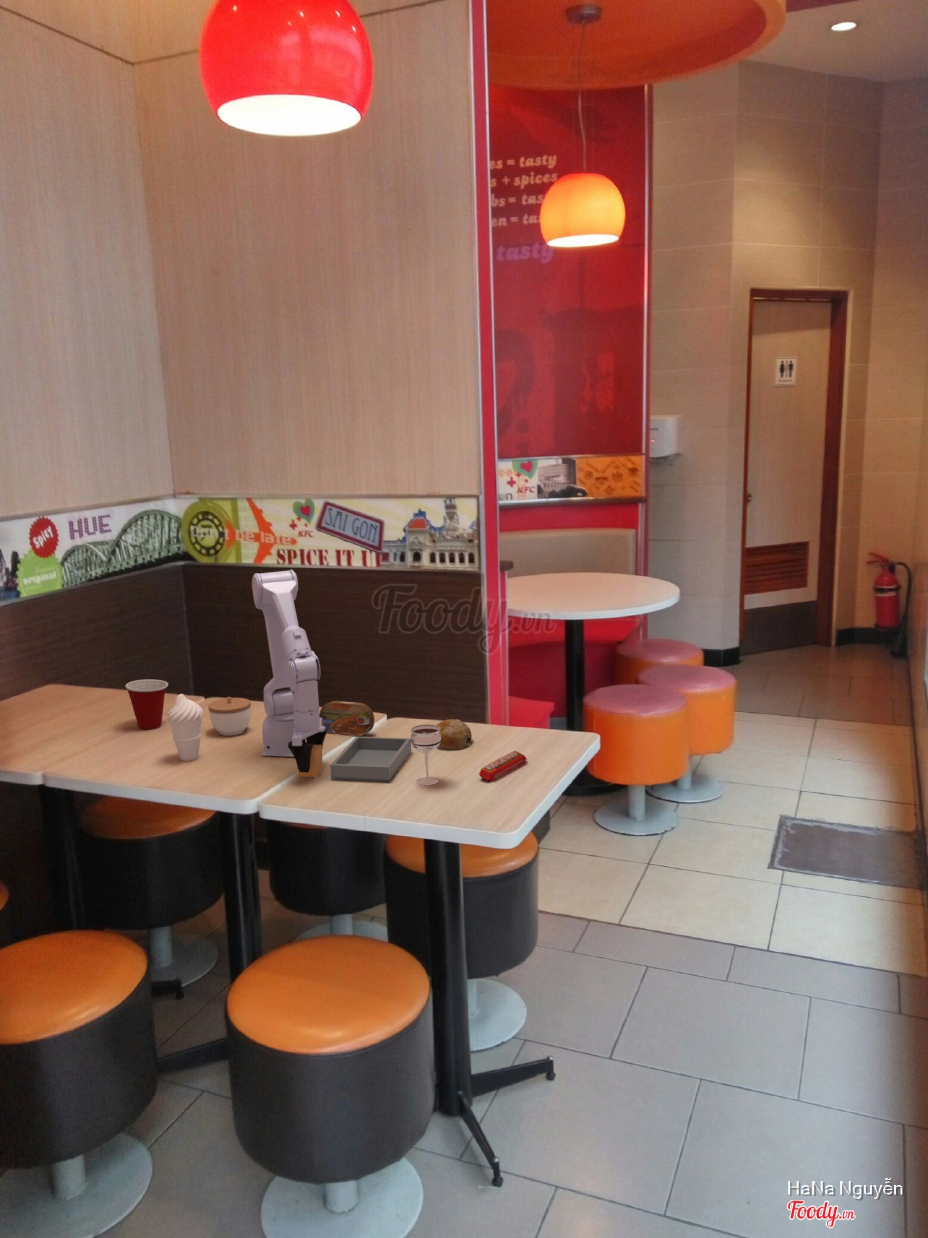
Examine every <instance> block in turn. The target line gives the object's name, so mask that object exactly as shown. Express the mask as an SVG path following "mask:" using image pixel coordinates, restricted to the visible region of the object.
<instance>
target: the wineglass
mask: <svg viewBox="0 0 928 1238" xmlns="http://www.w3.org/2000/svg"><path fill="white" fill-rule="evenodd" d="M436 725H437V724H418V725H415V726H413V727H411V728H410V729H409V730H410V732H411V735H410V740H411V746H412V747H413V748H414V749H415V750H416V751H418V752H421V753H423V755H424V763H425V771H426V773H425V775H426V776H425V777H420V778H418V779H417V780H416V783H417V785H420V786H433V785H436V784H438V783H439V781H440V780H439V779H438V778H437V777H434V776H429V755H430V754H431V752H433V751H436V749H438V748H437V747H438V746H439V745H440V742H441V734H440V733H439V731H440V729H441V728H440V727H439V726H436Z"/></svg>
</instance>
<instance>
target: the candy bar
mask: <svg viewBox="0 0 928 1238" xmlns="http://www.w3.org/2000/svg"><path fill="white" fill-rule="evenodd" d="M527 760H528V758H527V757H526V756H525V755H524V754H522V753H521V752H519V751H516V750H514V751H511V752H509V753H508V754H506V755H504V756H502V757H499V758H497V759H496V760H494V761H491V762H490V763H488V764H486V765H484V766H483V767H482V768H480V771H479V772H478V775H479V776H480V777H481V778H482V779H484V780H486V781H487V782H492V781H491V780H493V781H495V780H497V779H498V778H497V777H499V776H501V775H502V776H504V775H506V774H507V773H506V772H508V773H510V772H511V771H513V770H515V769H516V768H515V767H517V768H519V767H521V766H522V765H524V764H525V762H526V761H527ZM523 763H524V764H523ZM521 764H522V765H521ZM518 766H519V767H518ZM514 768H515V769H514ZM512 769H513V770H512ZM509 771H510V772H509ZM505 773H506V774H505ZM503 774H504V775H503ZM502 776H501V777H502ZM496 778H497V779H496ZM499 778H500V777H499ZM494 779H495V780H494ZM488 780H489V781H488Z"/></svg>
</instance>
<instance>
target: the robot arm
mask: <svg viewBox="0 0 928 1238" xmlns="http://www.w3.org/2000/svg"><path fill="white" fill-rule="evenodd" d="M298 581H299V579H298V576H297V573H296V572H294V569H289V570H282V571H273V572H264V573H263V572H262V573H257V572H256V573H254V574H253V576H252V580H251V589H252V596H253V602H254V605H255V608H256V609H258V610H261V612H263V613H262V614H263V616H264V620H265V621H264V622H265V628H266V630H265V631H266V635H267V636H266V637H267V640H268V641H267V643H268V650H269V657H270V664H271V670H272V675H273V676H272V678H271V679H270V680H269V681H268V682H267V683H266V684H265V686H264V688H263V707H264V710H265V712H264V713H265V714H266V716H265V717H264V719H263V720H262V721H263V722H262V727H261V730H262V732H261V733H262V734H261V735H262V747H263V753H262V756H265V757H285V758H286V757H289V758H294V760H295V763H296V767H297V766H298V769H299V772H309V769H310V756H311V751H312V748H313V745H322V748H323V745H324V741H325V738H326V736H327V734H328V733H329V732H328V729H327V728H325V727H324V726H323V722H322V718H320V716H319V714H320V704H319V702H320V701H319V691H318V690H319V688H318V681H319V680H320V678H321V665H320V661H319V658H318V656H317V655H316V654H315V651H314V650H312V648H311V645H310V642H309V639H308V636H307V635H308V634H307V632H306V630H305V629H303V628H302V627H300V626H299V621H298V616H297V612H296V608H295V607H296V606H295V602H294V601H295V600H296V599H297V595H298V592H299V582H298ZM285 688H287V689H285ZM280 689H283V690H280ZM277 690H278V691H277Z"/></svg>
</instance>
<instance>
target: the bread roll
mask: <svg viewBox="0 0 928 1238" xmlns="http://www.w3.org/2000/svg"><path fill="white" fill-rule="evenodd" d="M435 725H436V726H439V727H440V728H441V729H440V731H439V733H440V734H441V742H440V745H439V746H438V747H437V748H436V749H440V750H444V751H445V750H446V751H449V750H453V751H454V750H461V749H464V748H469V747H470V746H471V741H472V739H473V738H472V736H473V735H472V731H471V728H470V727H469V726H468V725H467V724H466V723H465V722H463V721H461V720H460V719H451V718H448V719H445V720H443V721H441V722H438V723H437V724H435Z"/></svg>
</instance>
